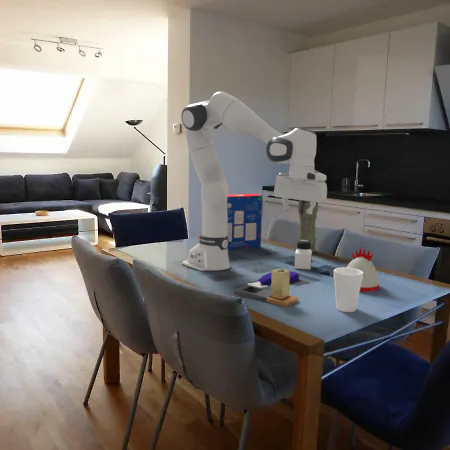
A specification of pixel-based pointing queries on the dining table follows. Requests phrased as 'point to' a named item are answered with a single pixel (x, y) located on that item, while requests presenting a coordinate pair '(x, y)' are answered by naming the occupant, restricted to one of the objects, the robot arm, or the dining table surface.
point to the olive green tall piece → (307, 223)
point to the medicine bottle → (303, 255)
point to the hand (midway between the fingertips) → (297, 212)
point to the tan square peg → (280, 284)
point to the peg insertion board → (264, 295)
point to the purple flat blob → (268, 278)
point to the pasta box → (244, 221)
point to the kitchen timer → (365, 270)
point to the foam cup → (347, 288)
